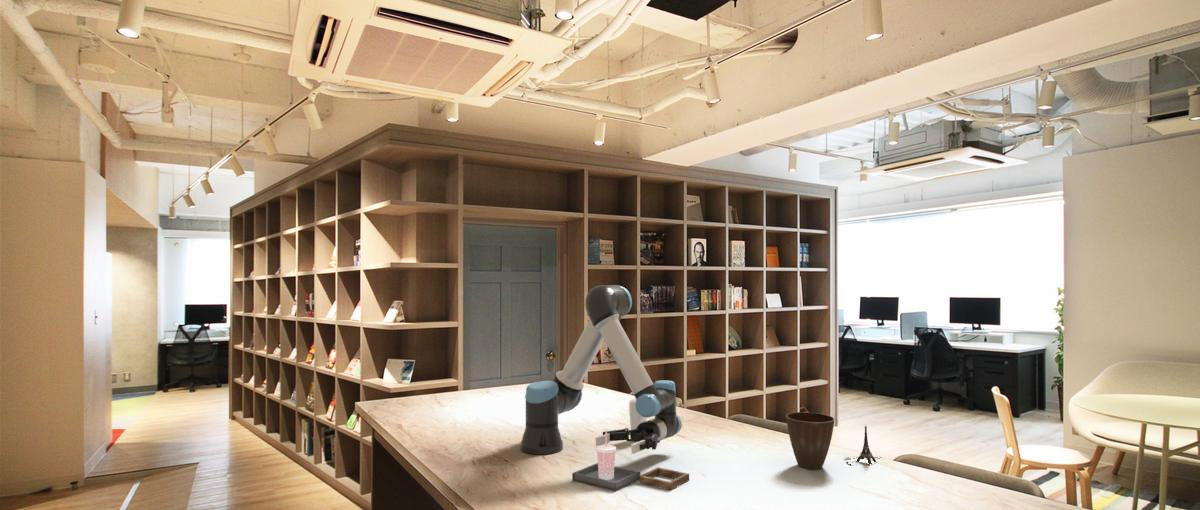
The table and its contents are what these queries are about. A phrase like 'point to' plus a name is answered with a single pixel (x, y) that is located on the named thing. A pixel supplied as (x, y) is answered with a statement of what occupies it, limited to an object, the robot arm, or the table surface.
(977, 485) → the table surface
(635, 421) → the white tumbler
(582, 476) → the tray
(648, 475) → the holder
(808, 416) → the plant pot
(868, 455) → the eiffel tower figurine
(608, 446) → the beverage cup
